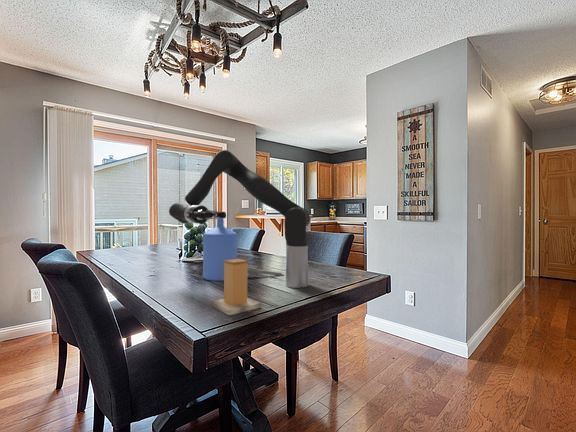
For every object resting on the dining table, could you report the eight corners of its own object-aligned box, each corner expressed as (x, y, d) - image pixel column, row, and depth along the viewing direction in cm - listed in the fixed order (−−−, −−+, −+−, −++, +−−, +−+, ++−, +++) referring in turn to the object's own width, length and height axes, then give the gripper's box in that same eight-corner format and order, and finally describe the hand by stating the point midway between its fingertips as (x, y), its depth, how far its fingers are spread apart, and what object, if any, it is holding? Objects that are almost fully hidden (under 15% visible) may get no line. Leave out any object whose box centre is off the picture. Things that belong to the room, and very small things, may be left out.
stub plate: (241, 298, 112) (241, 282, 111) (260, 307, 103) (260, 289, 102) (210, 305, 104) (210, 288, 104) (229, 315, 95) (229, 296, 95)
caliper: (242, 278, 145) (242, 265, 145) (242, 277, 146) (242, 264, 146) (284, 276, 151) (284, 263, 150) (283, 275, 152) (283, 262, 151)
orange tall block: (238, 298, 107) (238, 258, 107) (247, 302, 103) (247, 260, 102) (224, 301, 103) (224, 260, 103) (232, 305, 99) (232, 262, 99)
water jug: (227, 282, 135) (228, 218, 134) (196, 279, 140) (196, 218, 139) (242, 275, 150) (242, 217, 149) (213, 272, 155) (213, 217, 154)
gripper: (179, 205, 124) (197, 205, 112) (212, 205, 133) (231, 205, 121) (179, 223, 124) (197, 225, 112) (212, 222, 134) (231, 224, 121)
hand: (214, 215), depth 117 cm, fingers open, 8 cm apart
